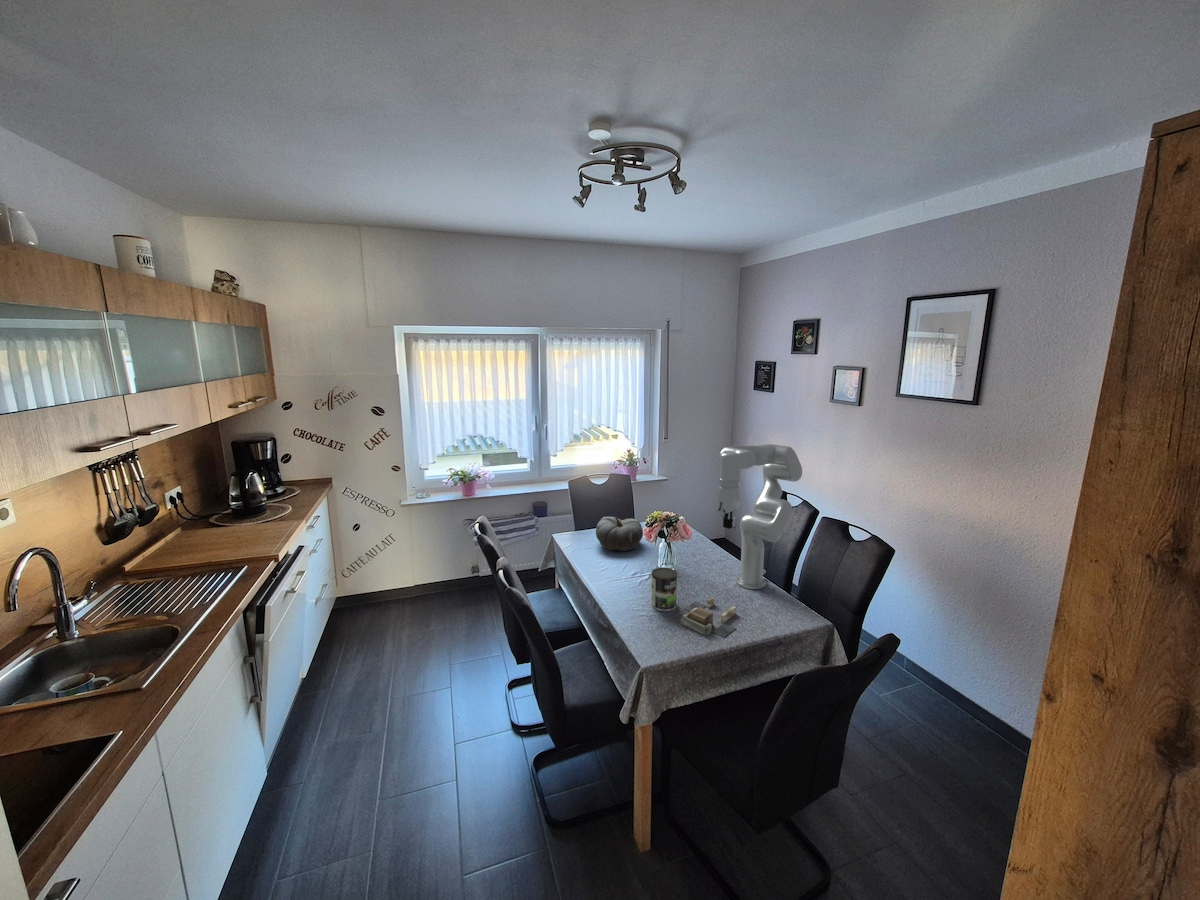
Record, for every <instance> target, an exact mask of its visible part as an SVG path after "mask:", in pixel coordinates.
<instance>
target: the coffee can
mask: <svg viewBox="0 0 1200 900" xmlns="http://www.w3.org/2000/svg"><path fill="white" fill-rule="evenodd" d="M677 576H678V572H677V571H676V570H675V569H672V568H670V567H656V568H654V569H652V571H651V607H652V608H653V609H654V610H656V611H659V612H660V611H661V612H671V611H673V610H675V609H676V608H677V585H678V584H677V582H678V580H677V579H678V577H677Z"/></svg>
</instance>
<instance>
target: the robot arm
mask: <svg viewBox="0 0 1200 900" xmlns="http://www.w3.org/2000/svg"><path fill="white" fill-rule="evenodd" d="M718 457H719V461H720V465H719V466H720V467H719V488H718V491H717V495H716V496H717V498H716V504H715V505H716V506H715V507H716V509H715V510H716V512H719V516H720V517H722V518H723V519H722V522H723V523H722V527H723V528H725V529H732V528H733V521H734V519H733V518H734V515H735V512H736V511H737V509H739V506H740V477H741V470H749V469H751V468H753V467H754V466H755V467H756V466H760V467H761V466H762V479H763V486H762V489H761V491H760V493H759V494H758V496H757V498H756V500H755V502H754V504H753V506H752V507H753V508H752V509H753V510H752V511H753V514H752V513H747V514H745V515H743V516H742V518H741V519H740V524H739V527H740V533H741V550H740V552H741V553H740V554H741V555H740V556H741V557H740V573H739V575H738V576H737V577H736V583H737V584H738V585H739V586H740V587H742V588H745V589H749V590H760V589H763V588H765V587H766V586H767V581H766V580H765V578H763V576H764V574H766V569H764V562H765V561H764V559H765V557H764V556H765V545H764V541H765V542H766V541H767V542H771V543H776V542H778V541H779V540H780V539H781V537H782V535H783V534H784V531H785V530H786V528H787V525H788V523H789V521H790V519H791V516H792V513H793V507H792V504H791V503H790V502H789V501H788V500H785V499H783V498H782V499H781V497H782V495H783V490H782V487H781V485H780V483H779V481H778V480H780V481H781V480H782V481H787V482H792V483H793V482H798V481H799V480H800V479H801V478H802V476H803V467H802V464H801V461H800V459H799V457H798V454H797V453H796V451H795V450H794V449H793V448H792V447H791V446H787V445H780V444H772V443H770V444H768V443H767V444H760V445H759V444H758V445H732V446H730V445H729V446H725V447H723V448H722V449H721V451H720V452H719V456H718ZM763 540H764V541H763Z"/></svg>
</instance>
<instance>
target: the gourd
mask: <svg viewBox="0 0 1200 900" xmlns="http://www.w3.org/2000/svg"><path fill="white" fill-rule="evenodd" d="M643 535H644V528H643V527H642V524H641V522H640V521H639V520H637V519H635V518H625V519H620V518H618V516H603V517H602V518H600V520H599V521H598V523H597V524H596V528H595V537H596V538H597V540H598V542H599V544H600V545H602V547H603V548H604V549H607V550H609V551H615V550H617V551H619V552H626V551H631V550H632V549H634V548H636V547H637V546H638V545H639V544H640V543H641V540H642V539H643Z"/></svg>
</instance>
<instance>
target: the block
mask: <svg viewBox="0 0 1200 900" xmlns="http://www.w3.org/2000/svg"><path fill="white" fill-rule="evenodd" d="M690 619H691V620H694V621H696V622H698V623H700V624H702V625H705V626H706V625H708V624H709V623H710V624H712V626H713V625H714V624H713V623H714V612H712V611H710V610H708V609H705V608H701V607H699V608H697V609H696V610H694V611H693V612H691V613H690Z"/></svg>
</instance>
